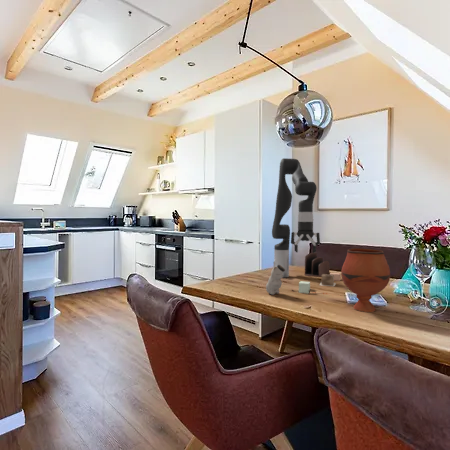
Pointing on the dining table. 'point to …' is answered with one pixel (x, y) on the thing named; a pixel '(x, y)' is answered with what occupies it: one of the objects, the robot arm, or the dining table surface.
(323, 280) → the walnut block
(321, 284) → the build plate
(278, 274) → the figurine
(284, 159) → the robot arm
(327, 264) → the letter holder
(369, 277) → the goblet
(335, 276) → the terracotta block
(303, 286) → the sage block
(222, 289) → the dining table surface
